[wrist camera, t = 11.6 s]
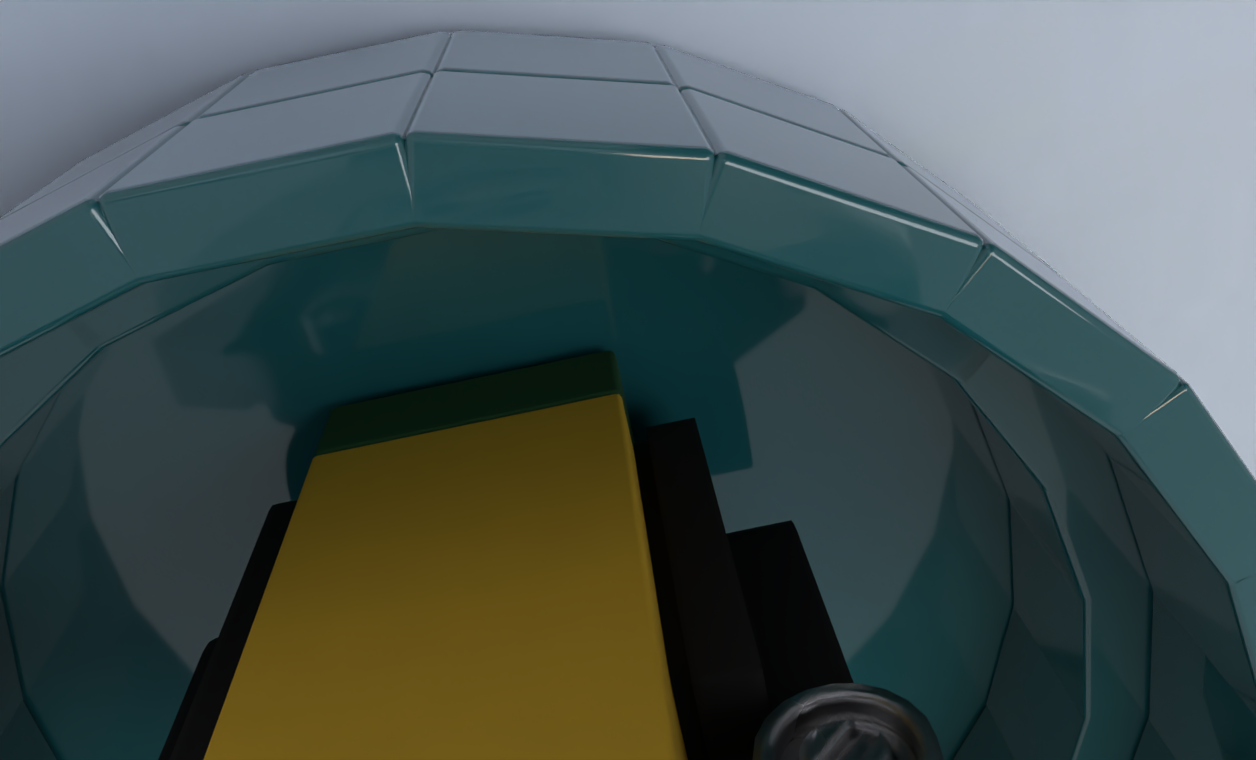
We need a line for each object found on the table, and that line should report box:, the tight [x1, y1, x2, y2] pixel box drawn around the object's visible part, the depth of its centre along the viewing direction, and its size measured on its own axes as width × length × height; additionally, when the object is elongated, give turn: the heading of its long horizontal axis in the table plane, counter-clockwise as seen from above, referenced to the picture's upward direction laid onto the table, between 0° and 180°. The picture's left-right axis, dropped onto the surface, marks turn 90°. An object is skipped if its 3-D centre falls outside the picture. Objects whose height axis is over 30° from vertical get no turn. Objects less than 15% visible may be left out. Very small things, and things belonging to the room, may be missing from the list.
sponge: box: [204, 351, 688, 760], centre depth 10 cm, size 4×3×6 cm, turn 11°
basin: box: [0, 30, 1256, 760], centre depth 12 cm, size 14×14×4 cm
